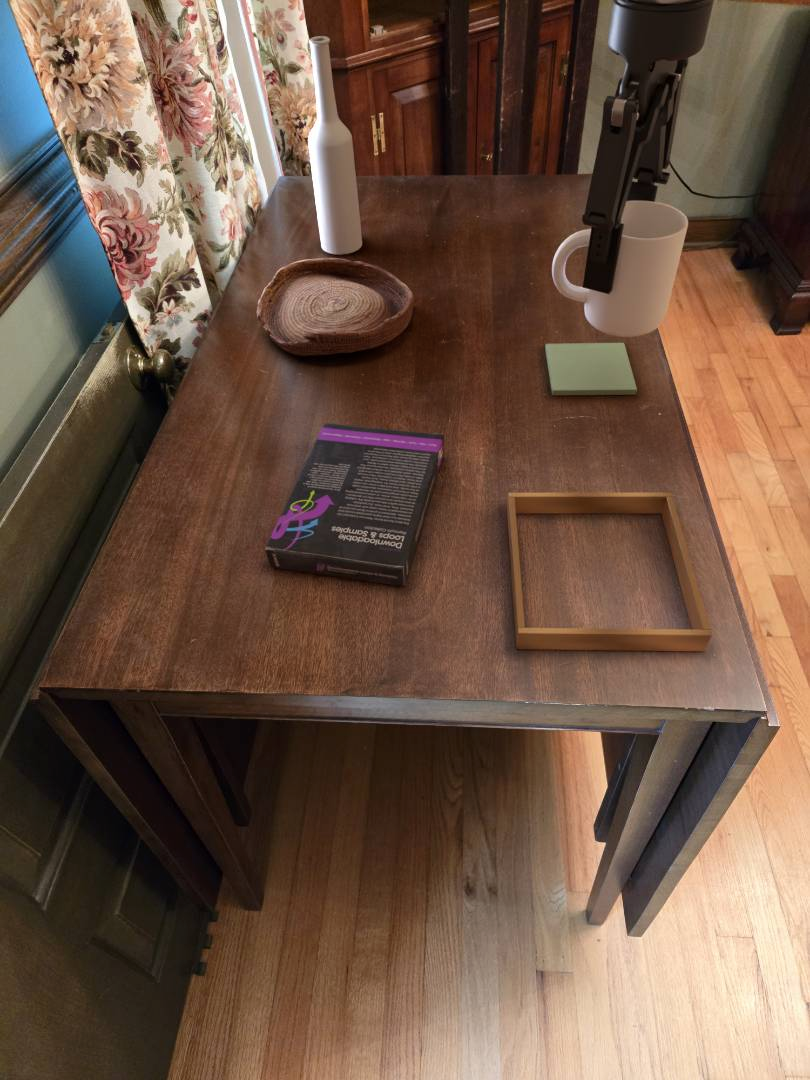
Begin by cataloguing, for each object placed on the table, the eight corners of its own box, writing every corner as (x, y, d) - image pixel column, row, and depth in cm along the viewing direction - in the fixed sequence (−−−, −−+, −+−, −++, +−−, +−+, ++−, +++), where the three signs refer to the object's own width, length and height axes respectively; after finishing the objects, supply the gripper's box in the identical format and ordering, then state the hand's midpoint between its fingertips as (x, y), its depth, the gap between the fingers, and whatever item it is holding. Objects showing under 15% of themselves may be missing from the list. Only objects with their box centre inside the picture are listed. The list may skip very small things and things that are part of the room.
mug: (543, 333, 74) (554, 234, 67) (550, 292, 80) (560, 196, 72) (665, 342, 72) (690, 241, 65) (663, 299, 78) (686, 201, 70)
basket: (230, 324, 102) (222, 291, 98) (336, 269, 111) (332, 237, 107) (339, 387, 91) (334, 353, 87) (445, 320, 100) (445, 287, 96)
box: (328, 444, 84) (267, 569, 71) (323, 420, 82) (260, 545, 69) (445, 458, 81) (404, 590, 69) (445, 433, 79) (402, 565, 66)
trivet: (636, 394, 87) (637, 389, 87) (552, 395, 88) (552, 390, 87) (623, 347, 94) (624, 342, 93) (545, 348, 94) (545, 343, 94)
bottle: (352, 231, 119) (331, 29, 99) (369, 247, 115) (352, 40, 94) (315, 241, 117) (286, 37, 97) (331, 258, 113) (305, 49, 93)
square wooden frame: (665, 509, 74) (671, 492, 72) (704, 651, 63) (712, 635, 61) (506, 509, 75) (508, 492, 73) (516, 649, 64) (518, 633, 62)
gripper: (663, -42, 63) (617, 218, 80) (563, 20, 52) (534, 308, 68) (751, -36, 60) (685, 233, 77) (666, 31, 49) (610, 329, 66)
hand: (614, 268), depth 73 cm, fingers closed on mug, 8 cm apart
